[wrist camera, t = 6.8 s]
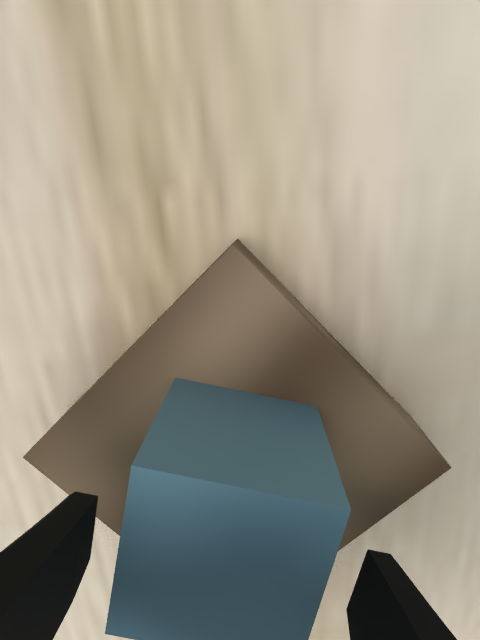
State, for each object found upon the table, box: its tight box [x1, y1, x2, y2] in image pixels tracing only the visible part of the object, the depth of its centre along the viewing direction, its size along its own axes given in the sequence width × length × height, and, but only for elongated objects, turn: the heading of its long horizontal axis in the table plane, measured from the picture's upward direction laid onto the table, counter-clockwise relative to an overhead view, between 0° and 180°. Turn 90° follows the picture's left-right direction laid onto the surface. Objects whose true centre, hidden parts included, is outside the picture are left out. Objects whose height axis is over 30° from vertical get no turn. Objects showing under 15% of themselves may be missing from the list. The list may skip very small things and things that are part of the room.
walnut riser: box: [23, 239, 451, 551], centre depth 16 cm, size 11×11×4 cm
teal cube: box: [105, 377, 351, 640], centre depth 12 cm, size 5×5×5 cm
